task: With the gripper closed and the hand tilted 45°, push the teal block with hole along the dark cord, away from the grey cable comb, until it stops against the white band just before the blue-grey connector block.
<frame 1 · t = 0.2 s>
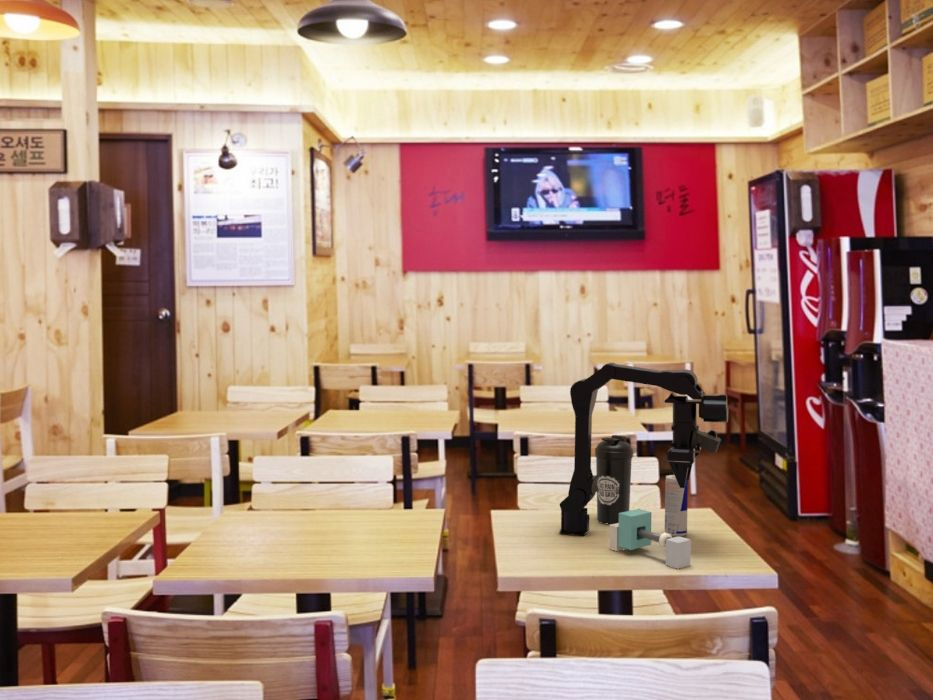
hand: (684, 483, 221), 15 cm above the table, tool pointing down, fingers open, 9 cm apart
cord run: (648, 556, 211), on the table
beverage can: (675, 535, 230), on the table
teal block with hole: (634, 529, 215), point 5 cm above the table, slide at 0.0 cm
water bottle: (613, 521, 243), on the table
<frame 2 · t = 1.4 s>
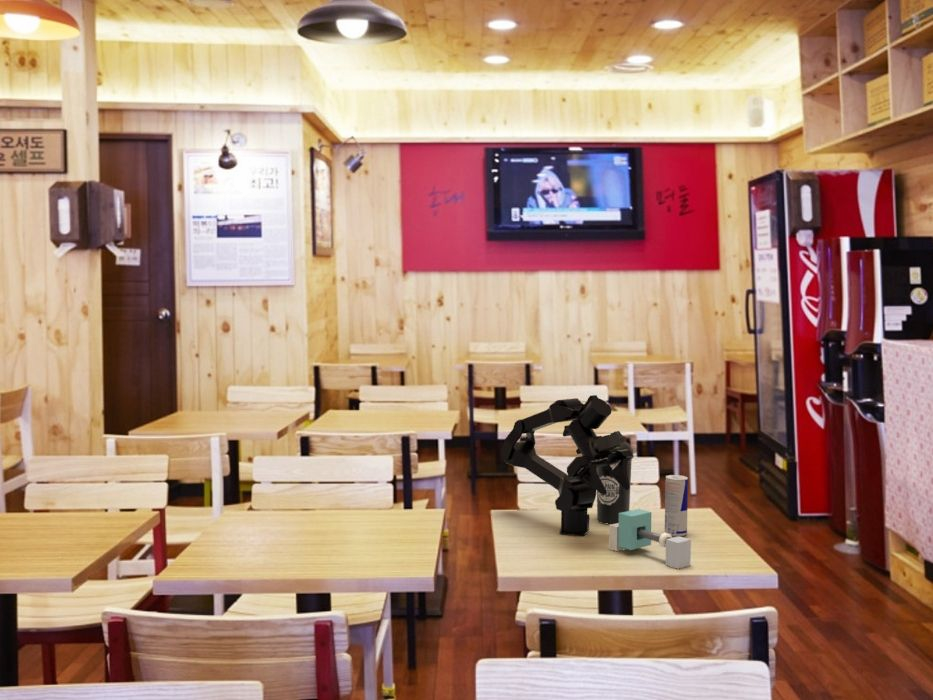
hand: (617, 491, 219), 13 cm above the table, tool tilted 45°, fingers open, 8 cm apart
nothing on the table moved.
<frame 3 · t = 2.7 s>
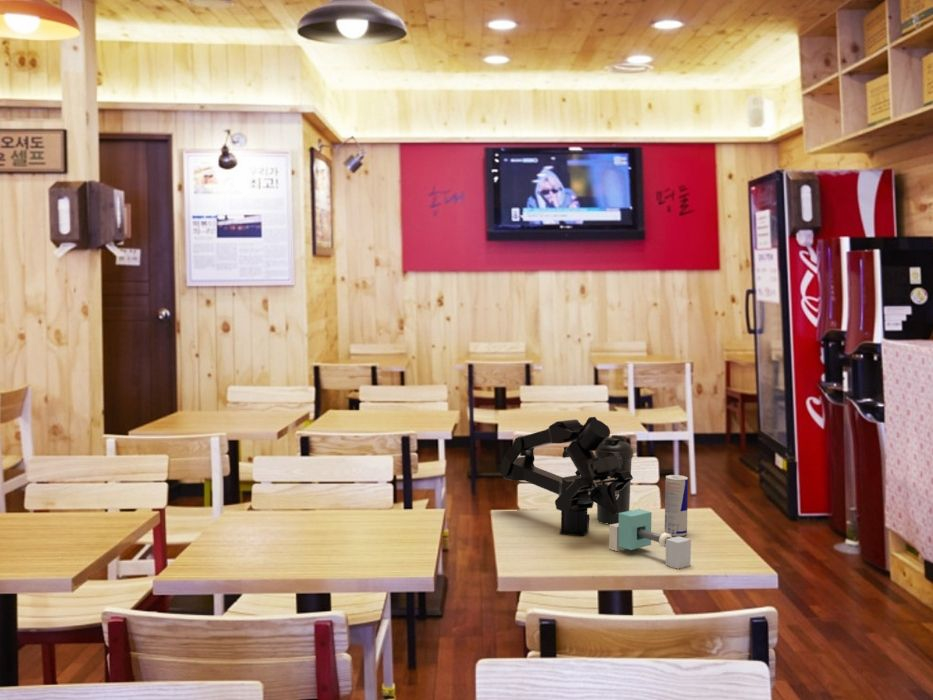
hand: (616, 513, 219), 8 cm above the table, tool tilted 45°, fingers closed
nothing on the table moved.
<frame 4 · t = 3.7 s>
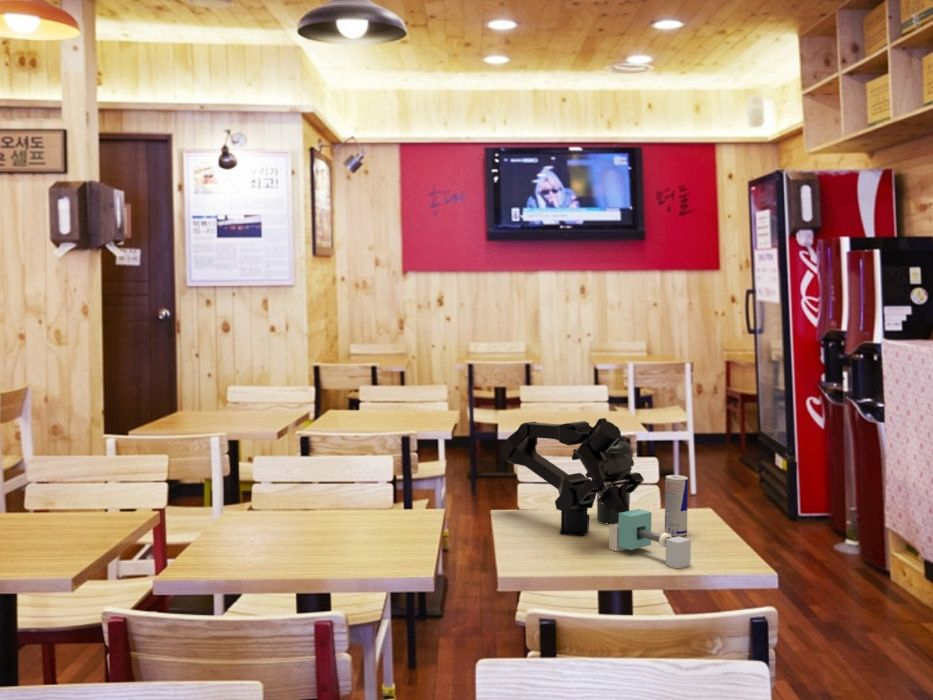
hand: (628, 515, 216), 8 cm above the table, tool tilted 45°, fingers closed, pressing on teal block with hole
teal block with hole: (634, 529, 215), point 5 cm above the table, slide at 0.0 cm, touching gripper
everything else where it was.
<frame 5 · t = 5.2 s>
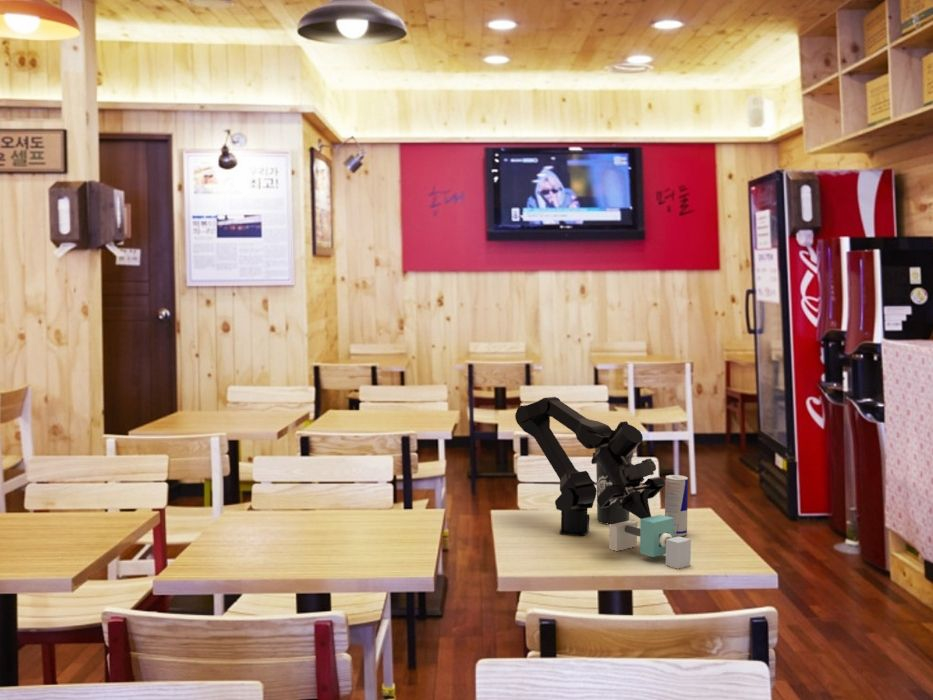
hand: (649, 522, 211), 8 cm above the table, tool tilted 45°, fingers closed, pressing on teal block with hole
teal block with hole: (657, 535, 209), point 5 cm above the table, slide at 6.9 cm, touching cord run, gripper
everything else where it was.
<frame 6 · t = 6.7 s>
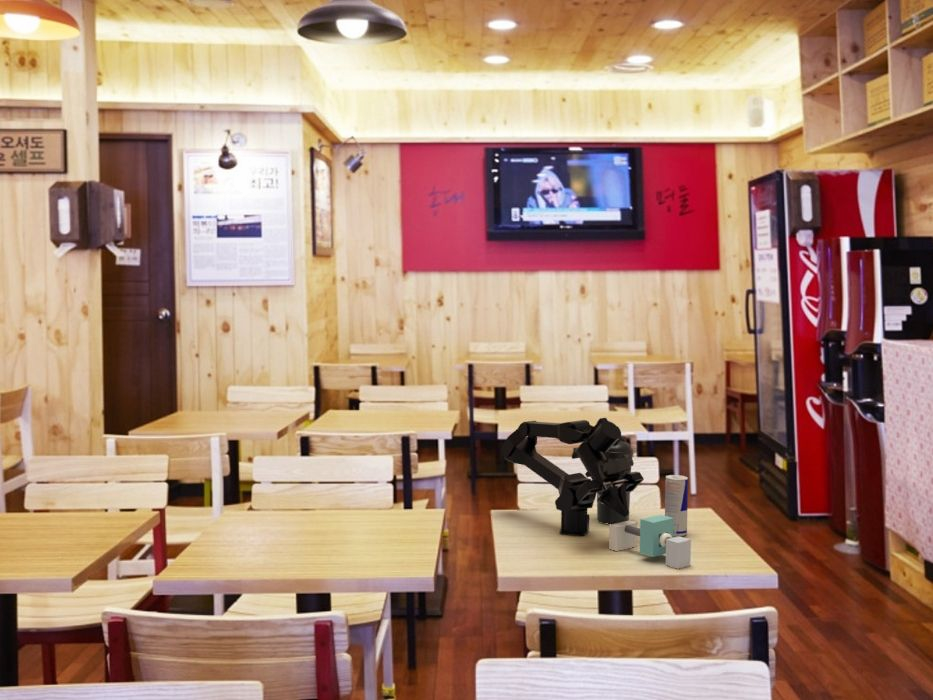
hand: (627, 515, 217), 8 cm above the table, tool tilted 45°, fingers closed
teal block with hole: (656, 535, 209), point 6 cm above the table, slide at 6.8 cm
everything else where it was.
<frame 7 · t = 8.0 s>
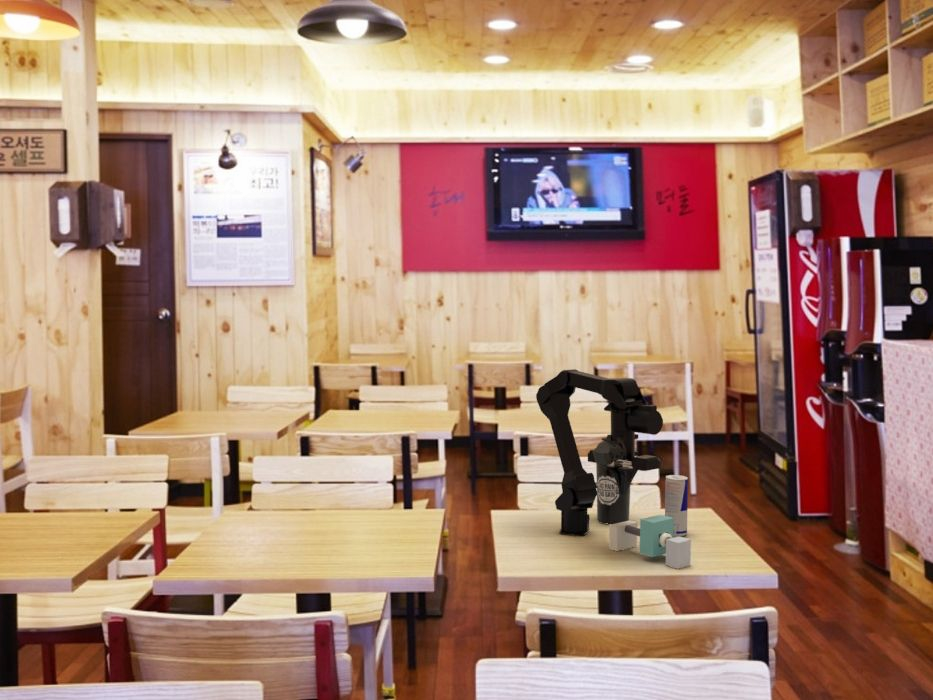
hand: (623, 494, 217), 13 cm above the table, tool pointing down, fingers closed
nothing on the table moved.
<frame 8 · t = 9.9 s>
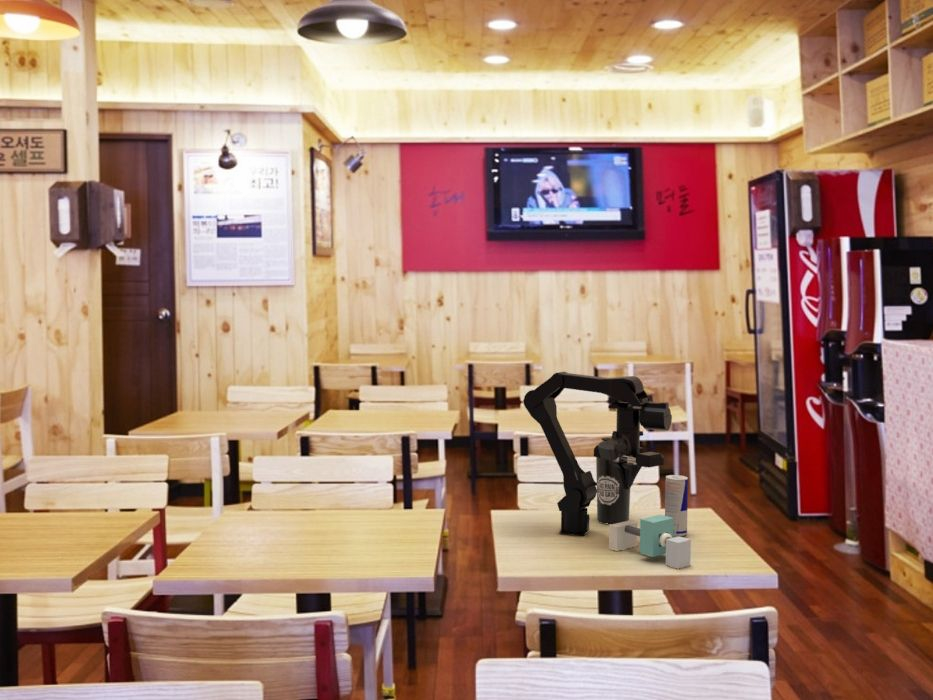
hand: (627, 489, 223), 13 cm above the table, tool pointing down, fingers closed
nothing on the table moved.
at the end: teal block with hole slide at 6.8 cm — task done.
